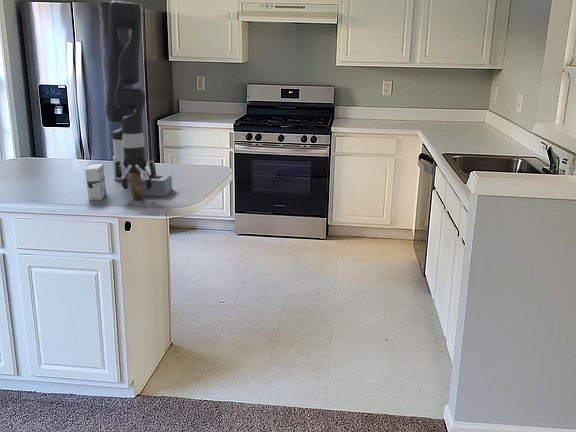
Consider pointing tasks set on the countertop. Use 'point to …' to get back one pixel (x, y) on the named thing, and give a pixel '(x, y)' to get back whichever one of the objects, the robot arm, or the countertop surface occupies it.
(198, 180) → the countertop surface
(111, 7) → the robot arm
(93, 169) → the ink box
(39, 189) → the countertop surface
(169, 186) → the socket block
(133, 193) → the walnut dowel
